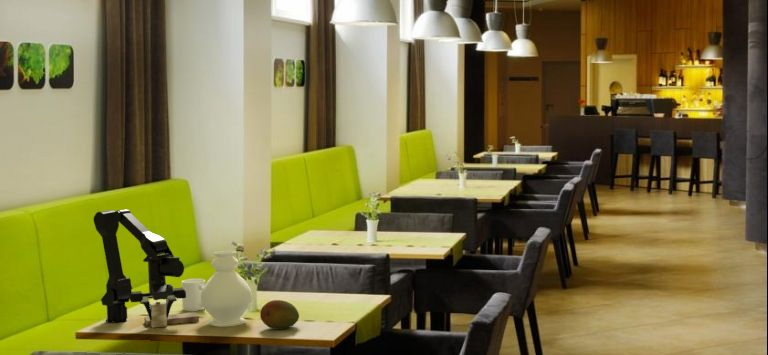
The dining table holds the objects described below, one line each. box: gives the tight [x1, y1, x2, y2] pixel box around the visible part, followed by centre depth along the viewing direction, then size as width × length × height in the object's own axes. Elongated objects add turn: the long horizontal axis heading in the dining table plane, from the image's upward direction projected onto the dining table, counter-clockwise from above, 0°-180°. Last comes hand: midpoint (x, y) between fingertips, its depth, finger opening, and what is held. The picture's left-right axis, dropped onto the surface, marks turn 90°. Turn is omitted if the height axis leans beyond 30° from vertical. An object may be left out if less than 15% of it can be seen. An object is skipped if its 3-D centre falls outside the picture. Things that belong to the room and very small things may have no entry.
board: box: [144, 311, 200, 328], centre depth 393 cm, size 18×7×2 cm, turn 109°
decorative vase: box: [201, 249, 253, 328], centre depth 389 cm, size 18×18×25 cm
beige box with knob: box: [150, 301, 168, 329], centre depth 389 cm, size 5×10×8 cm, turn 19°
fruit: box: [259, 299, 300, 330], centre depth 379 cm, size 12×12×10 cm
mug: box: [181, 278, 206, 312], centre depth 413 cm, size 9×12×11 cm
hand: (158, 319), depth 386 cm, fingers closed on beige box with knob, 5 cm apart
